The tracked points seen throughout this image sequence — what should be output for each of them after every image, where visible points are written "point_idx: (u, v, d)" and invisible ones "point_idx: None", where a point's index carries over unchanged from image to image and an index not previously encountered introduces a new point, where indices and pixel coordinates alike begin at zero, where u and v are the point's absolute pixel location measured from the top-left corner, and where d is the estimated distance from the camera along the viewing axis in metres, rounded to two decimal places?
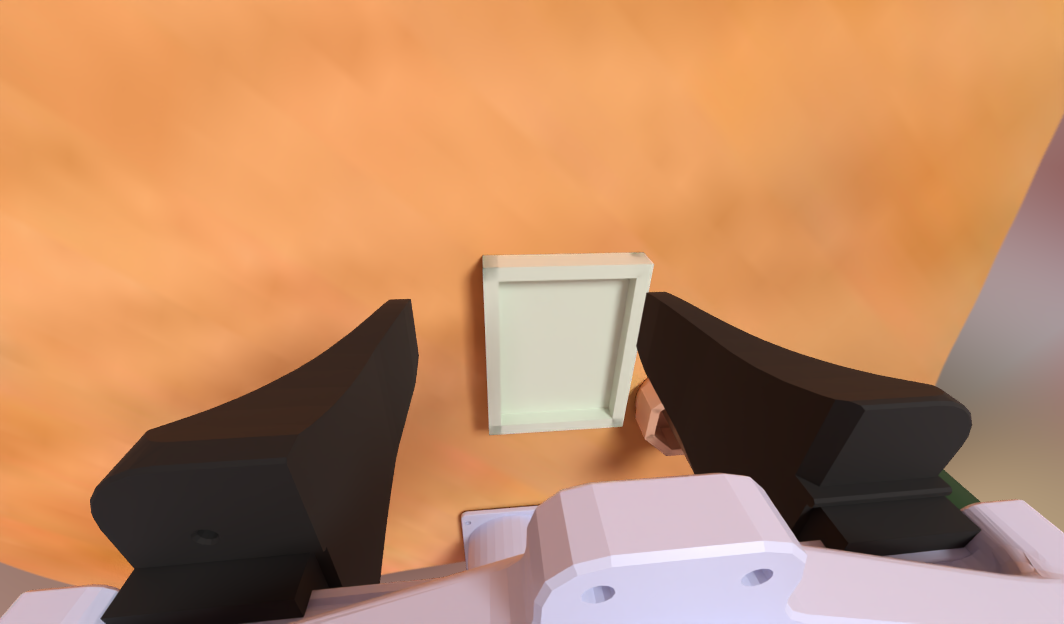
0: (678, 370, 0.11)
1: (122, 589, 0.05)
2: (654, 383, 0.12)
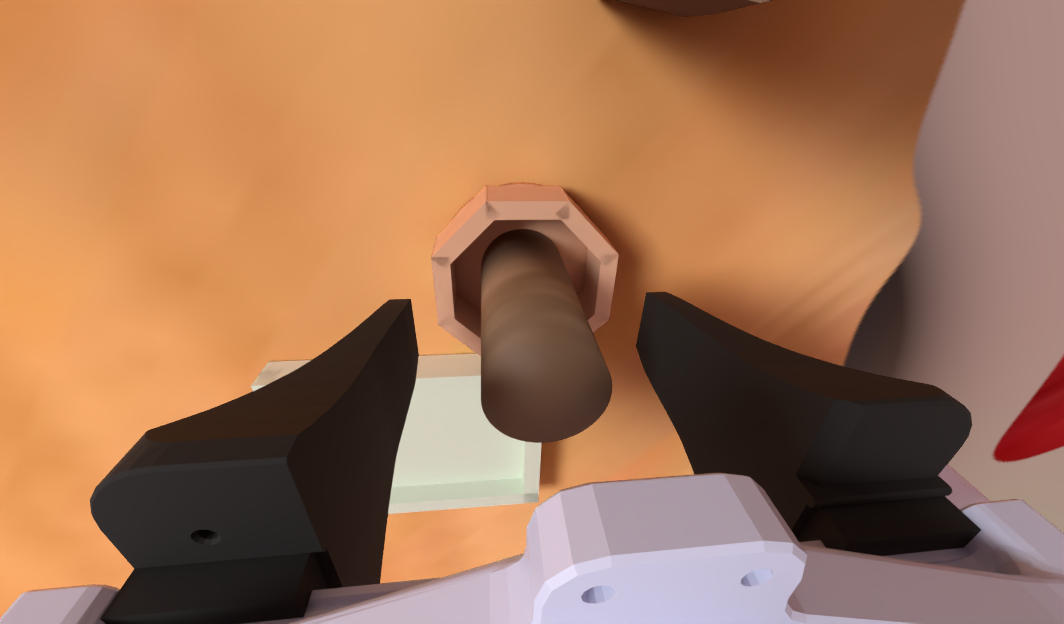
0: (678, 370, 0.11)
1: (122, 589, 0.05)
2: (654, 383, 0.12)
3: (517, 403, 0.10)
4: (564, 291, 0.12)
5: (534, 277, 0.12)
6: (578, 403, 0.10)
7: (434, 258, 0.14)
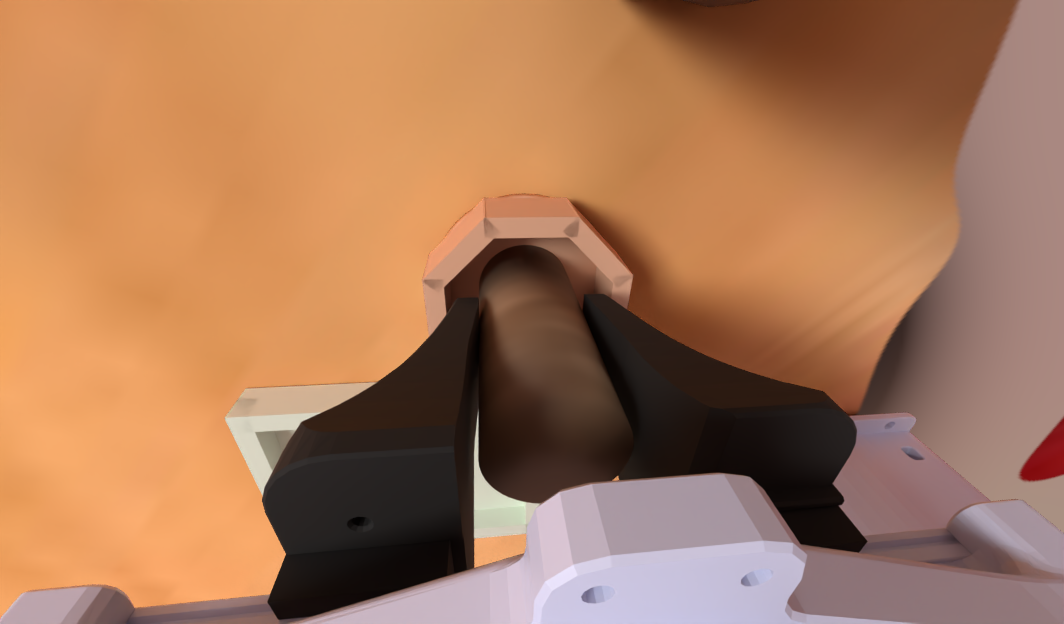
0: None
1: (280, 574, 0.06)
2: None
3: (521, 463, 0.08)
4: (575, 323, 0.10)
5: (539, 306, 0.10)
6: (593, 461, 0.09)
7: (425, 281, 0.12)
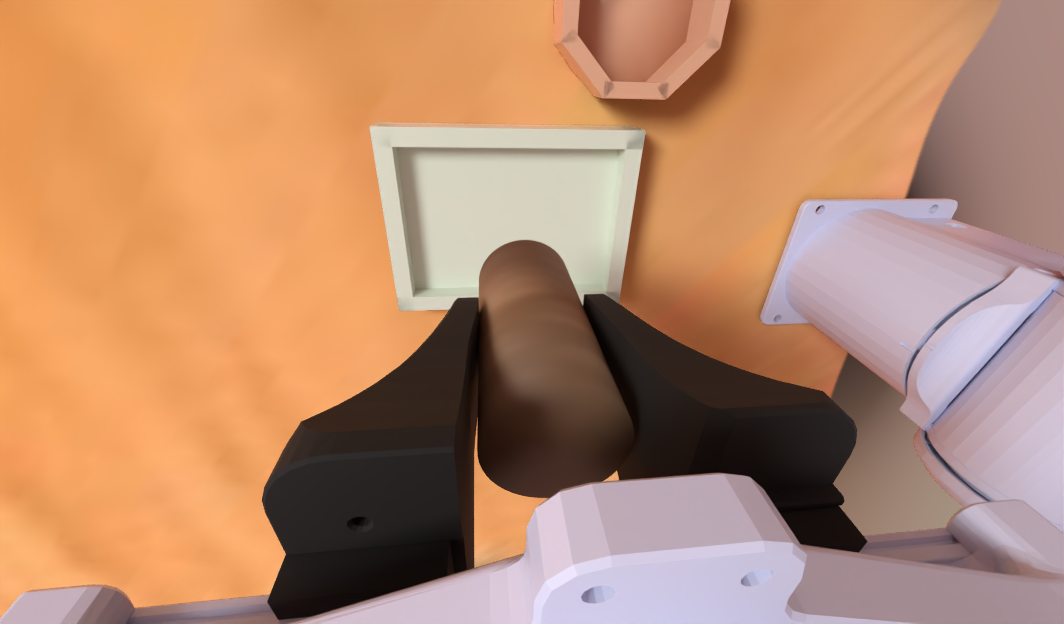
0: None
1: (280, 574, 0.06)
2: None
3: (520, 454, 0.08)
4: (578, 319, 0.10)
5: (544, 300, 0.10)
6: (592, 456, 0.09)
7: None
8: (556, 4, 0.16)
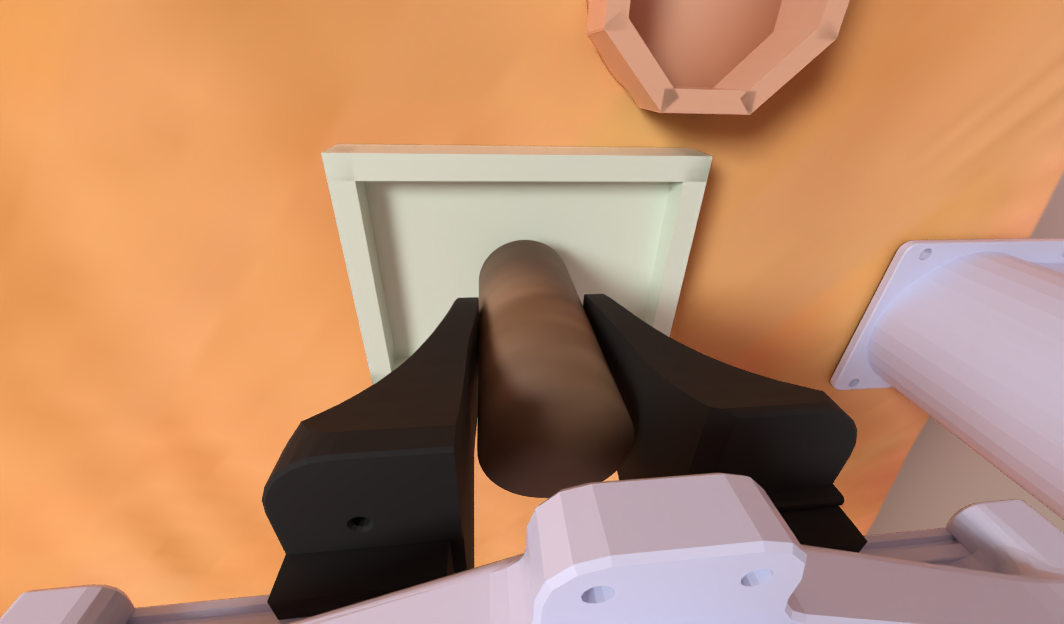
0: None
1: (280, 574, 0.06)
2: None
3: (520, 454, 0.08)
4: (578, 319, 0.10)
5: (544, 300, 0.10)
6: (592, 457, 0.09)
7: None
8: None
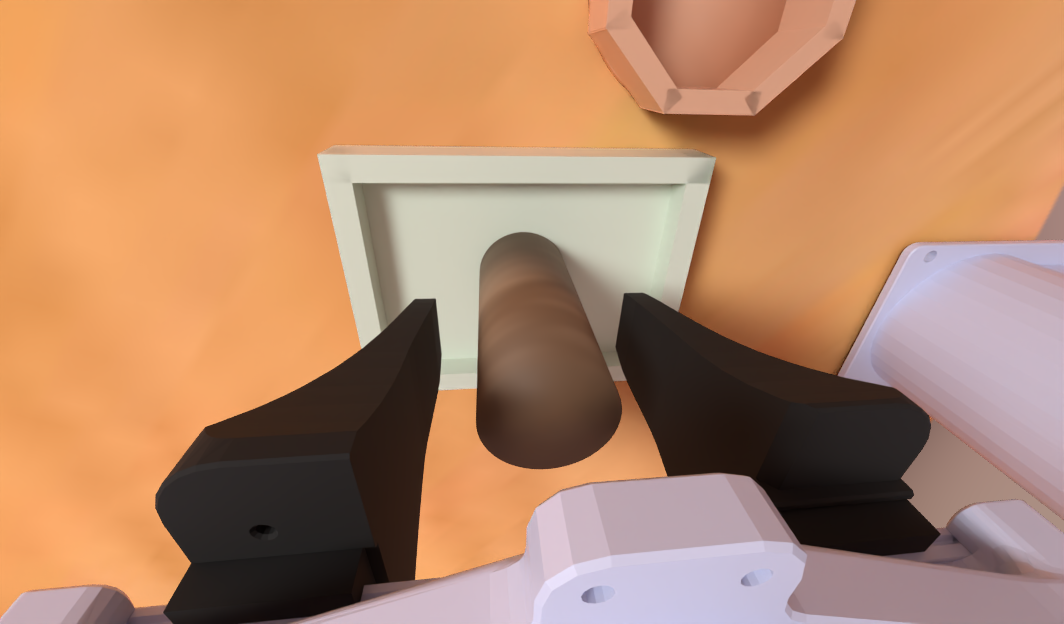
0: (652, 371, 0.11)
1: (182, 583, 0.05)
2: (631, 385, 0.12)
3: (516, 426, 0.09)
4: (572, 304, 0.11)
5: (540, 286, 0.11)
6: (583, 429, 0.09)
7: None
8: None
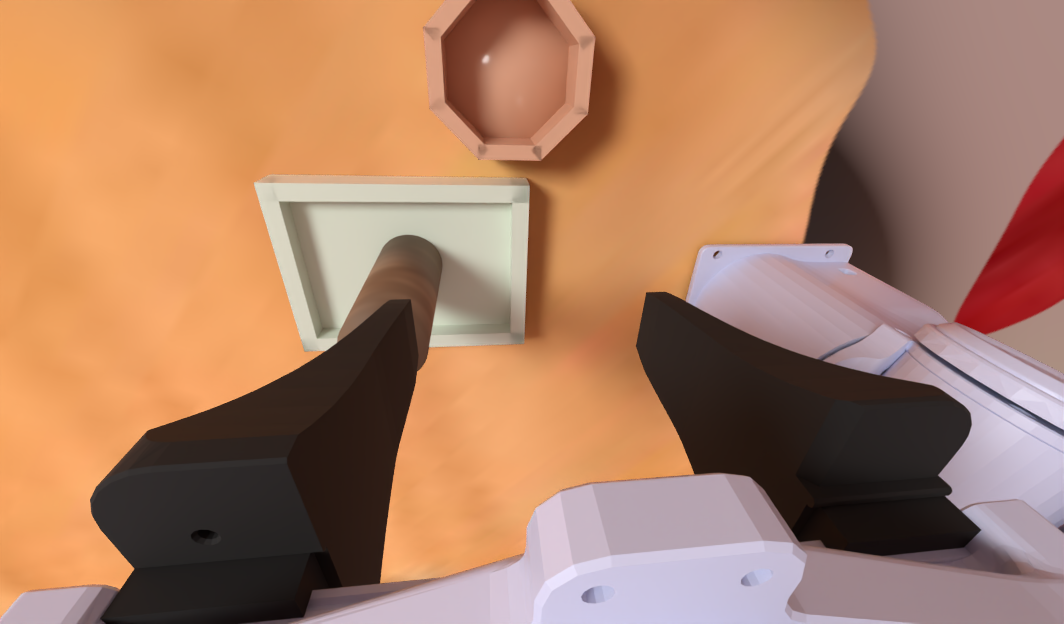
0: (678, 370, 0.11)
1: (122, 589, 0.05)
2: (654, 383, 0.12)
3: None
4: (415, 281, 0.17)
5: (396, 270, 0.17)
6: None
7: (426, 28, 0.15)
8: None
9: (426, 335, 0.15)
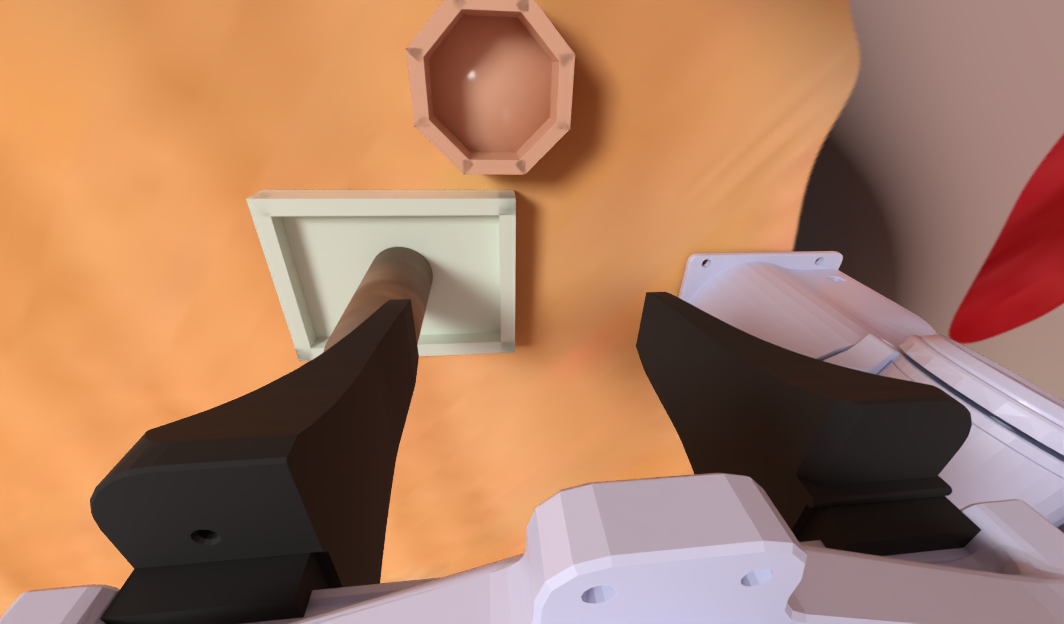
0: (678, 370, 0.11)
1: (122, 589, 0.05)
2: (654, 383, 0.12)
3: None
4: (401, 294, 0.17)
5: (383, 283, 0.17)
6: None
7: (408, 49, 0.15)
8: None
9: None
